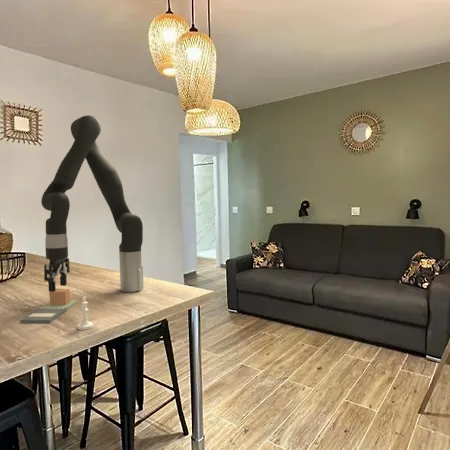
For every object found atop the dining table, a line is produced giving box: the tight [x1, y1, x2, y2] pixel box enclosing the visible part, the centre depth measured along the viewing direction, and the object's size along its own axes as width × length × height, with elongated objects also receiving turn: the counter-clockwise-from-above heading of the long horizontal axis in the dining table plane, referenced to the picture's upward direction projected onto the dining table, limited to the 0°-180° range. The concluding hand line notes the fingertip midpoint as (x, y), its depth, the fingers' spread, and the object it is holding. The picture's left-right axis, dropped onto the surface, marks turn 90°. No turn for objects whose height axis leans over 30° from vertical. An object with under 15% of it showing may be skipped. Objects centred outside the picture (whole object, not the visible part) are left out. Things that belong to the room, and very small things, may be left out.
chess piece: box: [76, 295, 95, 331], centre depth 112 cm, size 5×5×10 cm
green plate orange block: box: [39, 288, 79, 311], centre depth 132 cm, size 10×9×6 cm
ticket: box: [19, 307, 68, 324], centre depth 121 cm, size 10×12×1 cm
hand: (58, 288), depth 132 cm, fingers open, 8 cm apart
